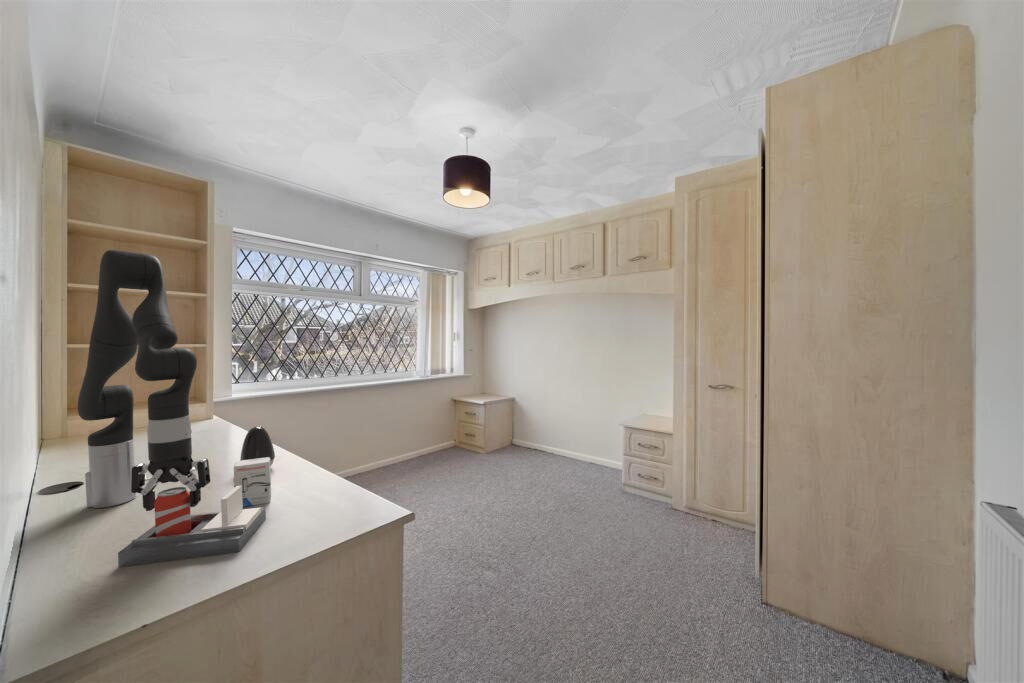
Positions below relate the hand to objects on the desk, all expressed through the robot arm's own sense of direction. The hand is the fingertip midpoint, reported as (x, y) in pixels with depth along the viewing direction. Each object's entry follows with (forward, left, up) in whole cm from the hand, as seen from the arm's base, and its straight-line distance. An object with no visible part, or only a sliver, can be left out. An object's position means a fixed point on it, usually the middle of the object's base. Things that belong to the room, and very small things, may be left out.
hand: (172, 507), depth 92 cm
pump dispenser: (0, +50, -8) cm, 51 cm away
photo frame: (-33, +58, -9) cm, 67 cm away
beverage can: (0, 0, -8) cm, 8 cm away
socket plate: (+5, 0, -8) cm, 10 cm away
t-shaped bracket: (+12, 0, -5) cm, 13 cm away
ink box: (+9, +20, -9) cm, 23 cm away
